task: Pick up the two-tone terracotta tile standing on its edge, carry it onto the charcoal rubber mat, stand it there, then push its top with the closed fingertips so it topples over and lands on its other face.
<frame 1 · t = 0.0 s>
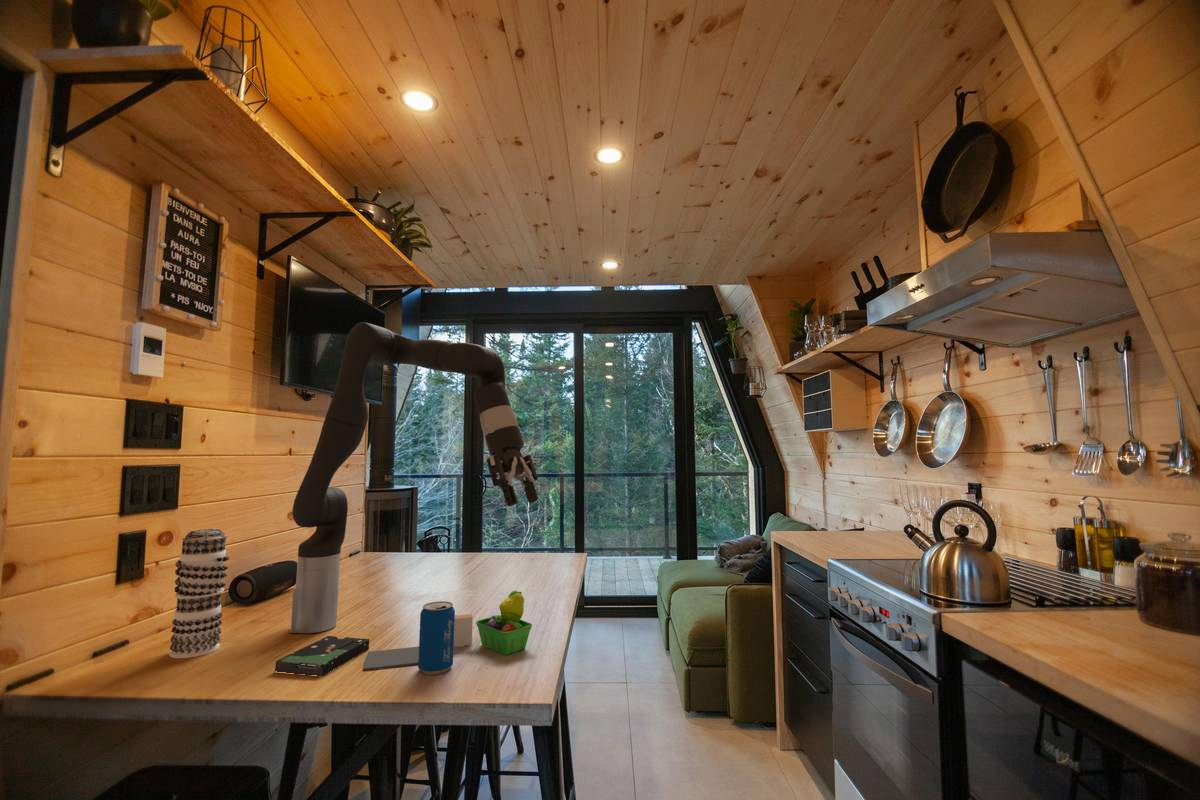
hand: (523, 503, 108), 31 cm above the table, tool tilted 20°, fingers open, 8 cm apart
tile: (455, 645, 114), on the table
decorative candle: (195, 651, 110), on the table
beverage can: (435, 670, 101), on the table
mat: (395, 658, 106), on the table
fruit basket: (505, 647, 113), on the table
disk drive: (324, 663, 105), on the table
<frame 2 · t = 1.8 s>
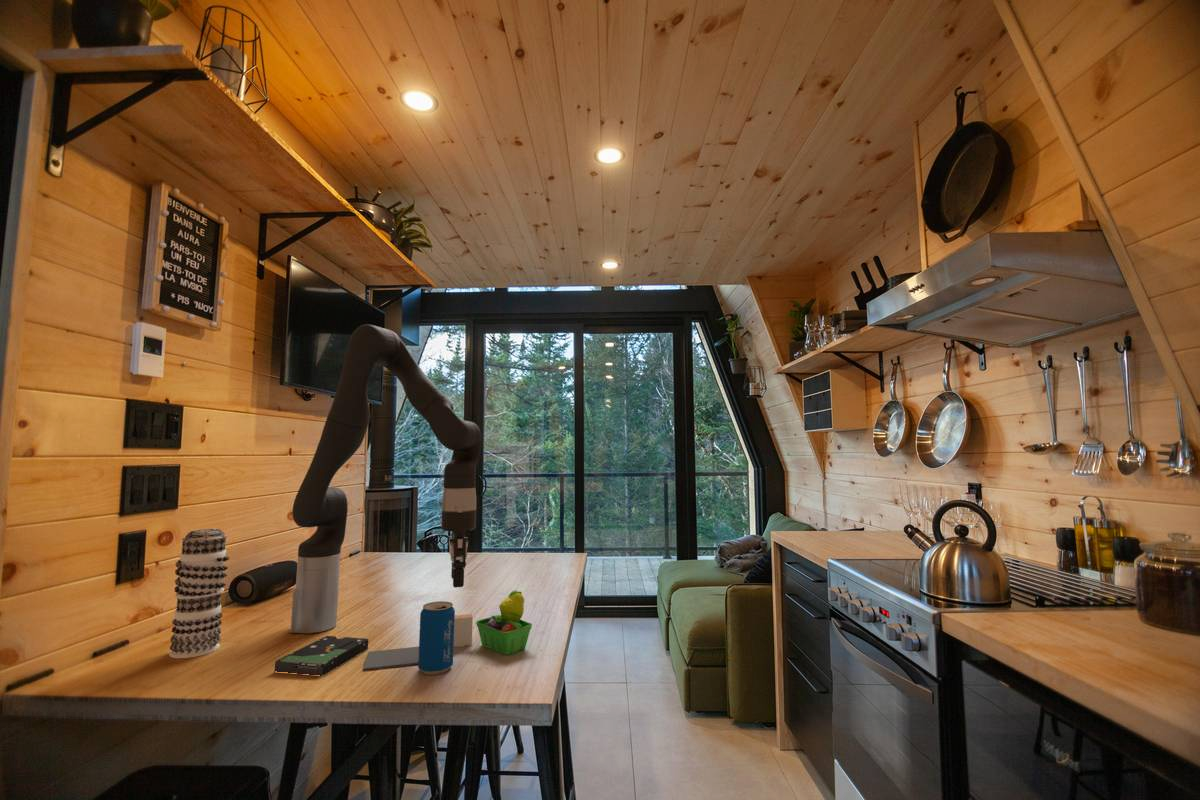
hand: (457, 582, 115), 13 cm above the table, tool pointing down, fingers open, 8 cm apart
nothing on the table moved.
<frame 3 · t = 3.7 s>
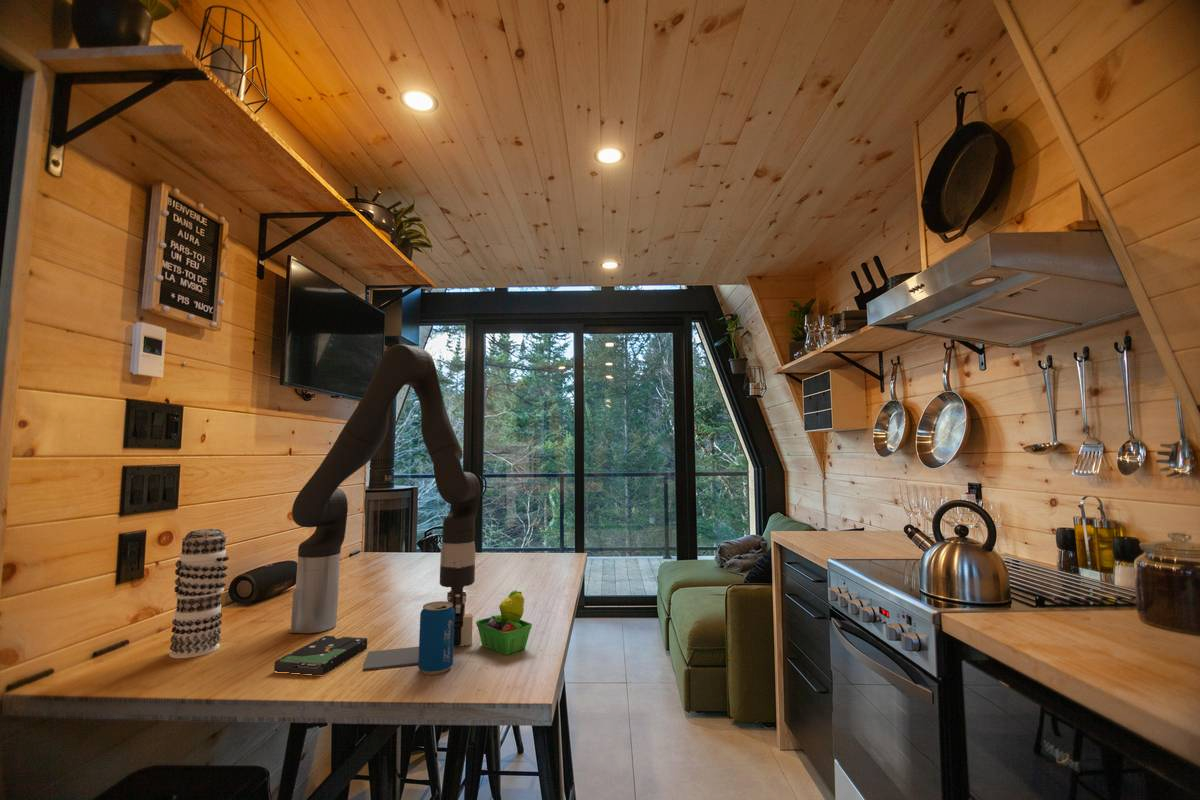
hand: (455, 643, 114), 0 cm above the table, tool pointing down, fingers closed on tile, 2 cm apart
tile: (455, 644, 114), on the table, touching gripper
everything else where it was.
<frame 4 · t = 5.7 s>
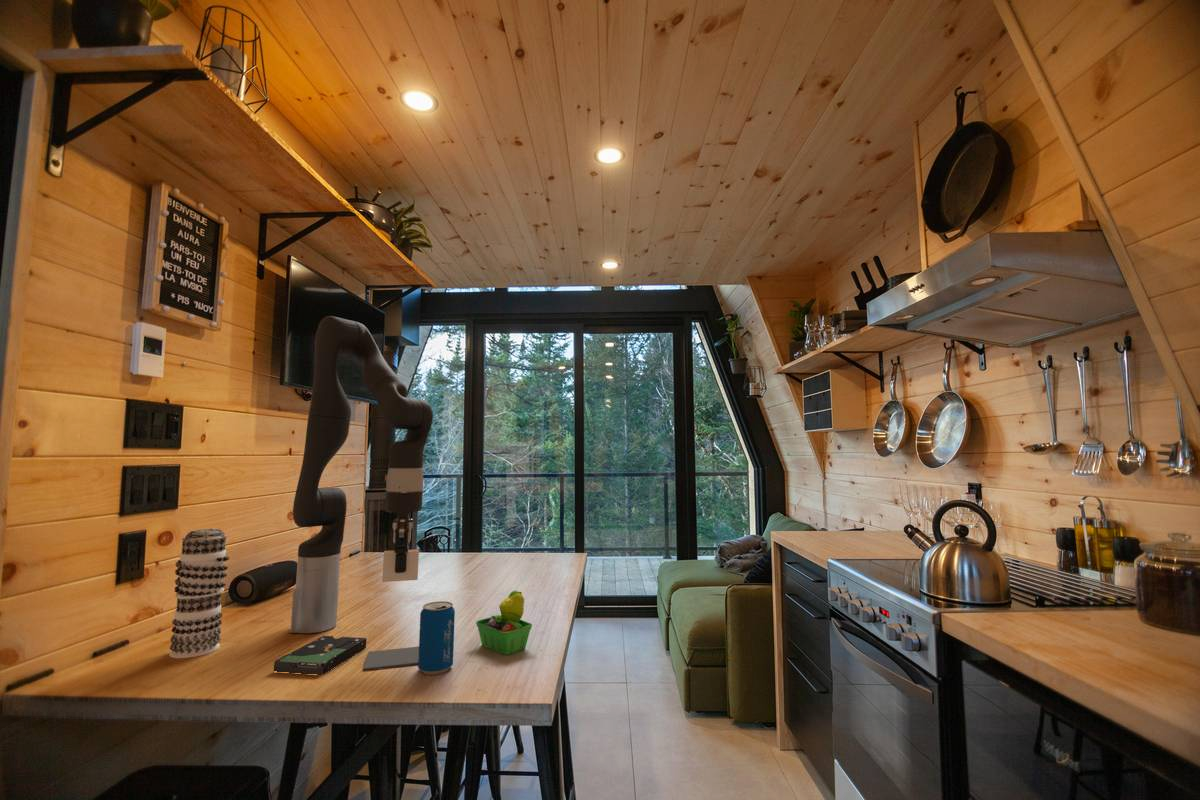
hand: (400, 570, 111), 17 cm above the table, tool pointing down, fingers closed on tile
tile: (400, 579, 111), point 15 cm above the table, touching gripper
everything else where it was.
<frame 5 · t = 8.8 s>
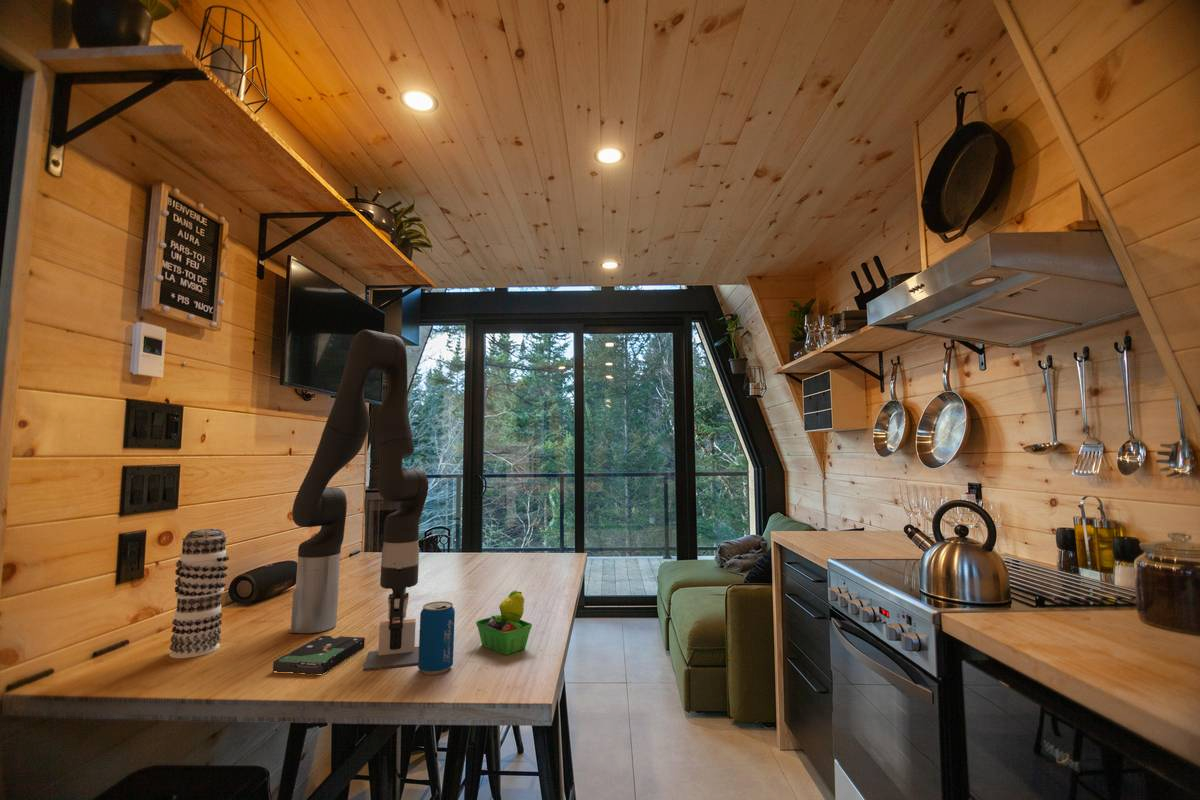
hand: (396, 641, 109), 2 cm above the table, tool pointing down, fingers open, 8 cm apart
tile: (396, 651, 109), resting on mat
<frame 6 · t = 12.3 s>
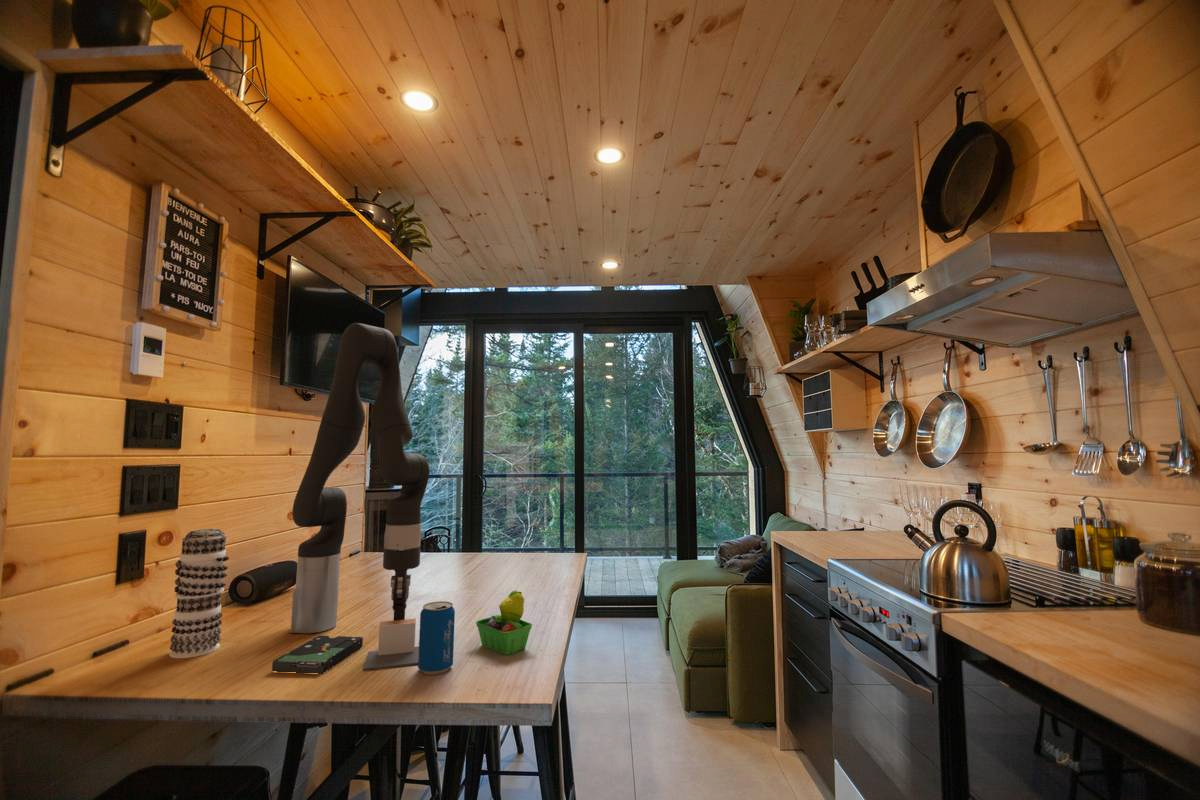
hand: (398, 627, 112), 5 cm above the table, tool pointing down, fingers closed
tile: (396, 651, 109), point 1 cm above the table, tilted 6°, touching gripper, mat
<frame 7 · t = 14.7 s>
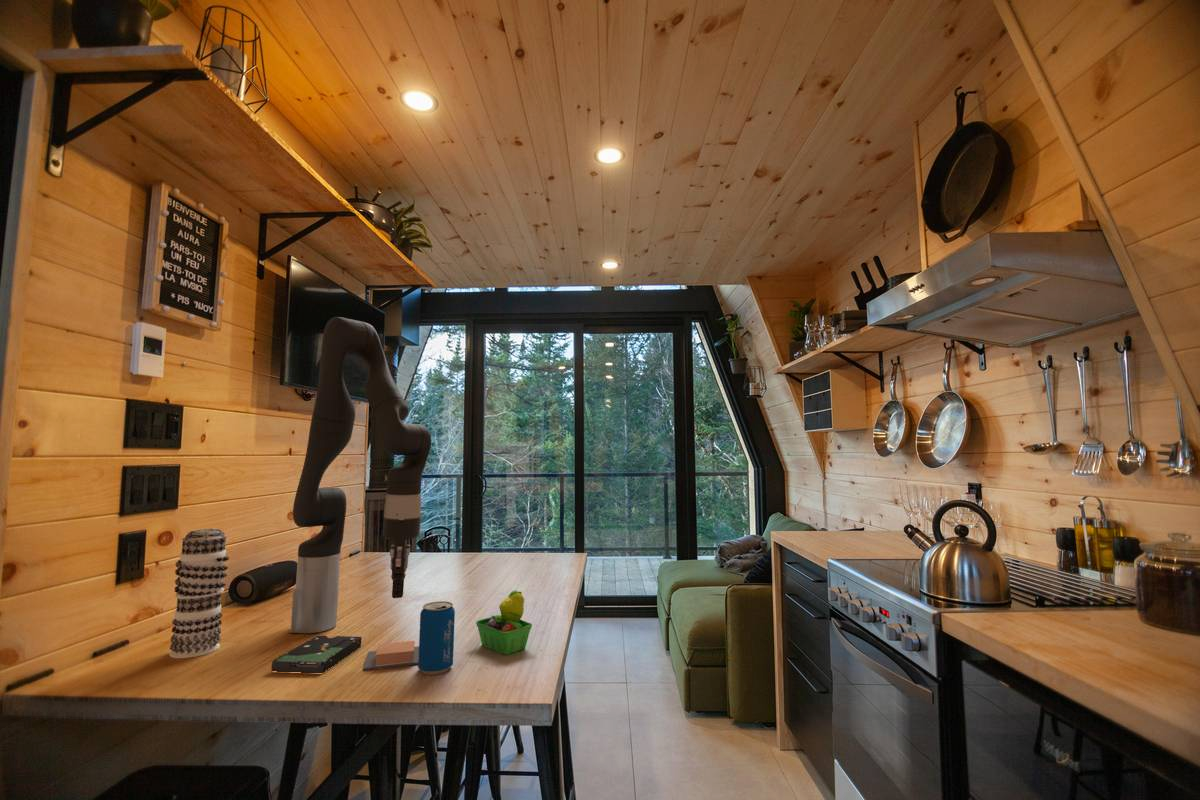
hand: (397, 597, 111), 11 cm above the table, tool pointing down, fingers closed
tile: (396, 648, 108), point 1 cm above the table, tilted 90°, touching mat
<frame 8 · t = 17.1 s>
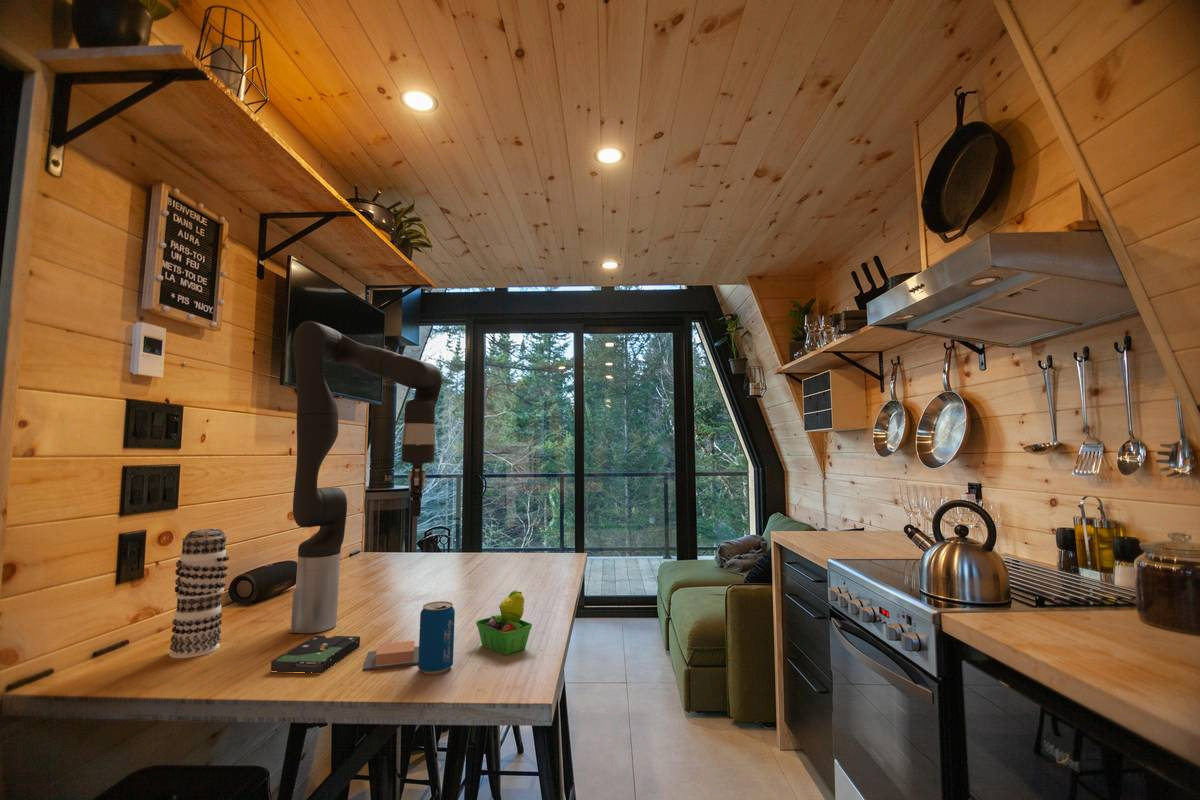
hand: (415, 516, 124), 27 cm above the table, tool pointing down, fingers closed
at the end: tile tilted 90°; tile inside the target area on the mat (2.2 cm from its centre), point 1.5 cm above the mat's base; the gripper is holding nothing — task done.
